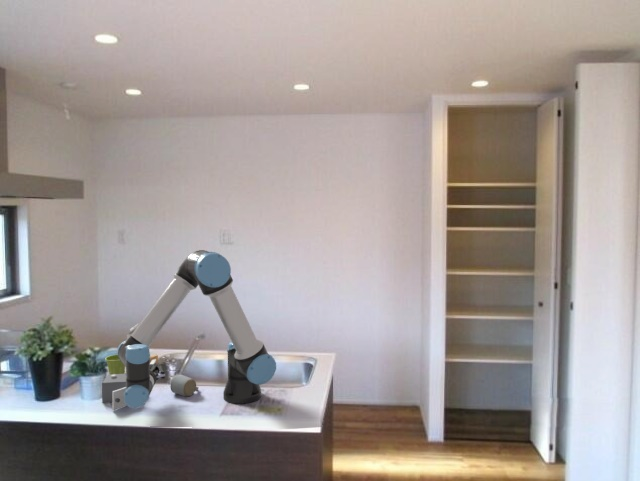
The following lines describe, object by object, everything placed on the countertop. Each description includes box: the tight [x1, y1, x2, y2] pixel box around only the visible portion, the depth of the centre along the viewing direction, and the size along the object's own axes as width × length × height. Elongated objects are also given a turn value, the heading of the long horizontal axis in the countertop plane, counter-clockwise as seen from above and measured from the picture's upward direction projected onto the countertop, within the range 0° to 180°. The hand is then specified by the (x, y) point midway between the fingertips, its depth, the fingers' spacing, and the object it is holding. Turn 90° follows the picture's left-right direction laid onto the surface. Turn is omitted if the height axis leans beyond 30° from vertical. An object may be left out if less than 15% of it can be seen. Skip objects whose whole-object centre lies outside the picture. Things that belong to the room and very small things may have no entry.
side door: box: [111, 354, 159, 411], centre depth 196 cm, size 20×2×16 cm, turn 147°
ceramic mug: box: [170, 374, 199, 397], centre depth 207 cm, size 11×8×8 cm
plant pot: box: [105, 354, 126, 375], centre depth 227 cm, size 9×9×9 cm
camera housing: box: [101, 373, 126, 404], centre depth 202 cm, size 14×10×9 cm
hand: (154, 362), depth 201 cm, fingers closed
